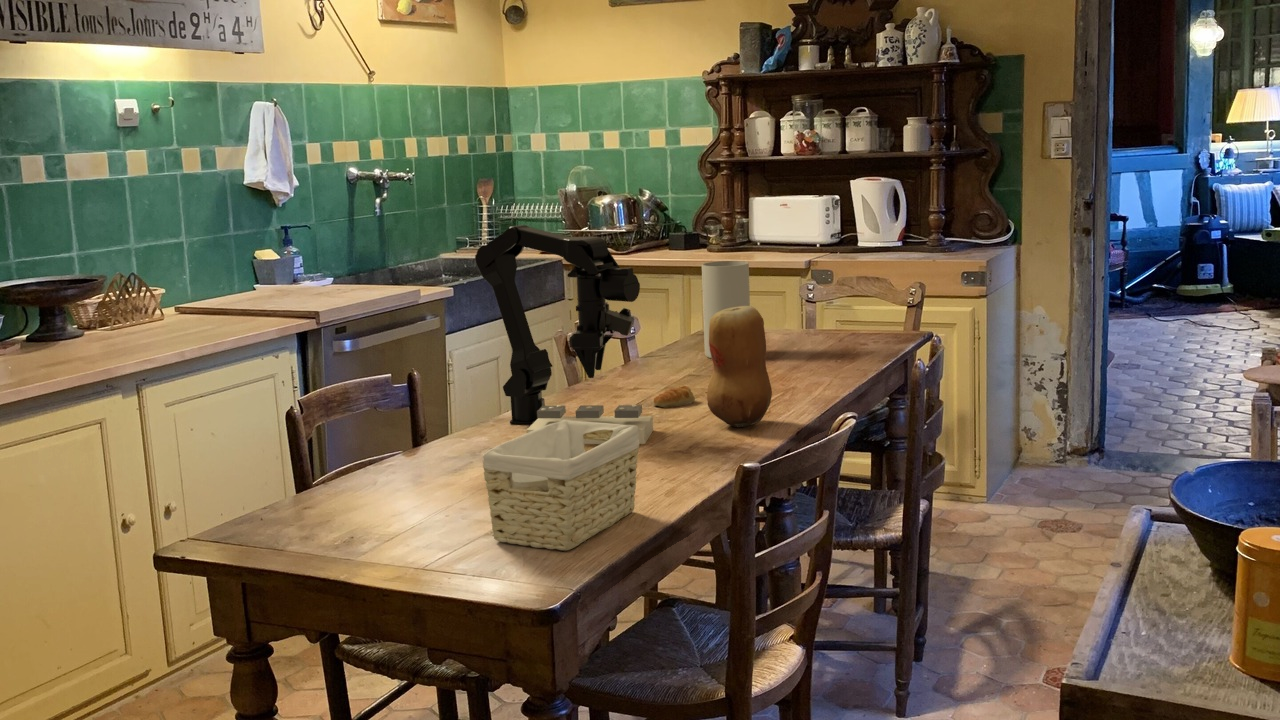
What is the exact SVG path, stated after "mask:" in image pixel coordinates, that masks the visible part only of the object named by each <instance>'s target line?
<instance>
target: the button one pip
mask: <svg viewBox="0 0 1280 720" xmlns="http://www.w3.org/2000/svg"><path fill="white" fill-rule="evenodd" d="M604 409H605V408H604V404H601V405H598V404H597V405H596V404H595V405H590V404H589V405H587V404H586V405H579V406H578V408H576V409H575V417H576V418H600V417H601V416H603V414H604Z"/></svg>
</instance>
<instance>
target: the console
mask: <svg viewBox="0 0 1280 720" xmlns="http://www.w3.org/2000/svg"><path fill="white" fill-rule="evenodd" d="M653 418H654V416H653V415H649V416H648V415H647V416H646V415H640V416H639V418H615V415H614V416H613V415H612V416H611V415H610V416H607V415H606V416H603V415H601V417H600V418H576V416H562V417H561V418H538V419H537V420H536V421H535V422H534V423H533V424H530V426H529V427H527V428H526V433H529V432H531V431H533V430H536V429H538V428H541V427H543V426H546V425H549V424H552V423H556V422H560V421H563V420H569V421H581V422H597V423H609V424H621V425H635V426H637V427H638V429H639V445H645V444H646V443H647V442H648V439H649V438H650V437H651V434H652V433H653V431H654V419H653ZM604 442H606V441H599V440H589V439H584V445H600V444H602V443H604Z"/></svg>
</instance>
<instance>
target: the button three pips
mask: <svg viewBox="0 0 1280 720" xmlns="http://www.w3.org/2000/svg"><path fill="white" fill-rule="evenodd" d="M566 409H567V408H566V405H560V404H559V405H558V404H557V405H545V406H542V407H541V408H540V409H539V410H538V411H537V418H561V417H564V415H565V414H566V412H567V410H566Z"/></svg>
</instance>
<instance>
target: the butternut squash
mask: <svg viewBox="0 0 1280 720" xmlns="http://www.w3.org/2000/svg"><path fill="white" fill-rule="evenodd" d="M764 321H765V320H764V318H763V317H762V314H761V313H760V311H759V310H758V309H757V308H756V307H753V306H751V305H750V306H740V307H732V308H727V309H724V310H722V311H720V312H717V313H716V314H715V315H714V316H713V317H712V318H711V320H710V325H709V347H710V353H711V357H712V359H711V360H712V363H713V372H712V374H711V376H710V379H709V382H708V385H707V391H706V399H707V407H708V409H709V410H710V412H711V413H712V414H713V415H714V416H715V417H716V418H718V419H719V420H721V421H723V422H724V423H725V424H726V425H729V426H731V427H734V428H741V427H744V428H745V427H749V425H750V426H752V425H755V424H758V423H760V422H761V420H762V419H763V418H764V416H765V415H766V413H767V411H768V409H769V407H770V404H771V401H772V398H773V397H772V395H773V390H772V389H773V388H772V385H771V381H770V376H769V373H768V370H767V363H766V362H767V361H766V357H767V356H766V354H767V353H766V352H767V341H766V332H765V326H764V325H765V322H764Z"/></svg>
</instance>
